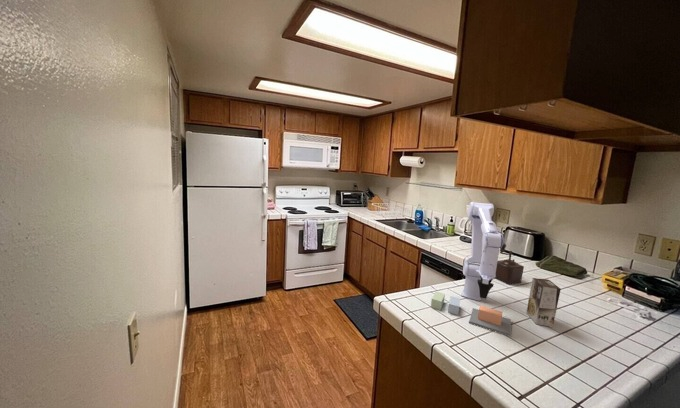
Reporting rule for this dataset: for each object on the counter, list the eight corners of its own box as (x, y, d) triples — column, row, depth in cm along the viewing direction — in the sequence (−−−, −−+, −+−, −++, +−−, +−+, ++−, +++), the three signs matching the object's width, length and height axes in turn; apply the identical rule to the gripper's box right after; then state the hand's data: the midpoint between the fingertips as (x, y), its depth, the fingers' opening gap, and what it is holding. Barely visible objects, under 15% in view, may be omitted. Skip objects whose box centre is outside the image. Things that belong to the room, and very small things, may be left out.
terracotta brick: (477, 318, 112) (479, 309, 111) (478, 314, 115) (479, 305, 114) (500, 325, 108) (502, 316, 107) (500, 321, 111) (502, 311, 110)
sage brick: (434, 299, 127) (435, 291, 126) (443, 302, 125) (445, 294, 124) (430, 307, 120) (431, 298, 119) (440, 310, 118) (441, 301, 117)
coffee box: (553, 327, 110) (561, 289, 108) (535, 324, 112) (543, 286, 109) (542, 315, 119) (549, 279, 116) (525, 312, 120) (532, 277, 118)
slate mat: (472, 309, 120) (472, 307, 120) (510, 321, 113) (511, 319, 113) (469, 323, 110) (469, 321, 109) (510, 336, 103) (510, 334, 102)
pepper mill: (522, 282, 151) (528, 250, 148) (508, 285, 147) (514, 252, 144) (497, 271, 165) (502, 241, 162) (483, 273, 161) (488, 242, 158)
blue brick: (449, 304, 124) (450, 295, 123) (459, 306, 122) (460, 298, 121) (447, 312, 116) (448, 303, 116) (458, 315, 115) (459, 306, 114)
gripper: (479, 255, 120) (474, 284, 123) (476, 265, 108) (470, 298, 110) (498, 259, 117) (492, 289, 119) (496, 270, 104) (491, 304, 107)
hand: (483, 294), depth 114 cm, fingers open, 7 cm apart
